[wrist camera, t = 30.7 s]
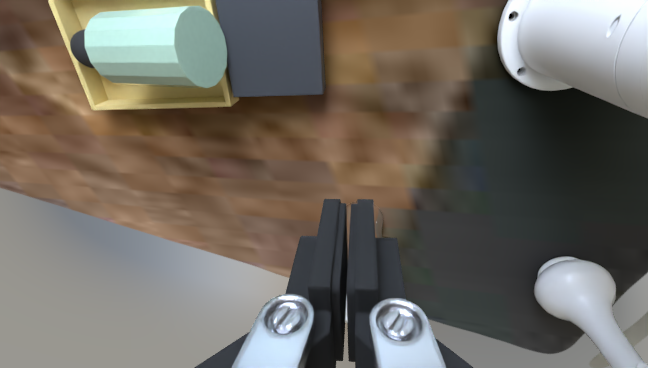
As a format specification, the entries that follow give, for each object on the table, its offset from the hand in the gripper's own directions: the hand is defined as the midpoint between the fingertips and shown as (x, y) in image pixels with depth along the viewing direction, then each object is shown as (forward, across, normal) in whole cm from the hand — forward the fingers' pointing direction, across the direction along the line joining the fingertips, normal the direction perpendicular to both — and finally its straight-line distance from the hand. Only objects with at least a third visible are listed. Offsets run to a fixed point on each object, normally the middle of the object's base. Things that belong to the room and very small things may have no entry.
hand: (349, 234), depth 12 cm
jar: (+22, +14, -4) cm, 27 cm away
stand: (+29, +9, -4) cm, 31 cm away
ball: (+27, +29, -4) cm, 39 cm away
